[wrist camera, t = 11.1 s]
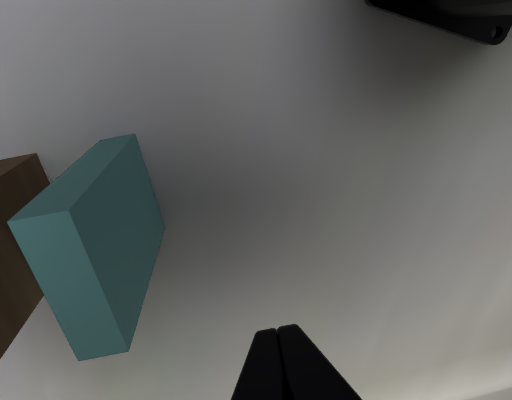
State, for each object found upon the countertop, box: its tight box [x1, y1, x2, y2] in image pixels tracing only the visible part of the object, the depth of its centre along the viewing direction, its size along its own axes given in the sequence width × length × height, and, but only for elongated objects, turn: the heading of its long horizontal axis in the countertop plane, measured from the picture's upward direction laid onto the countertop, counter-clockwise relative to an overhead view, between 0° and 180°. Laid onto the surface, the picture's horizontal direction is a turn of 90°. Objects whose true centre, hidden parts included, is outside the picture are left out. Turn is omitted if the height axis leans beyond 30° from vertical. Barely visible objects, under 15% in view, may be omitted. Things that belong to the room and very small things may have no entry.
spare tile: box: [7, 134, 165, 361], centre depth 14 cm, size 2×5×8 cm, turn 10°
